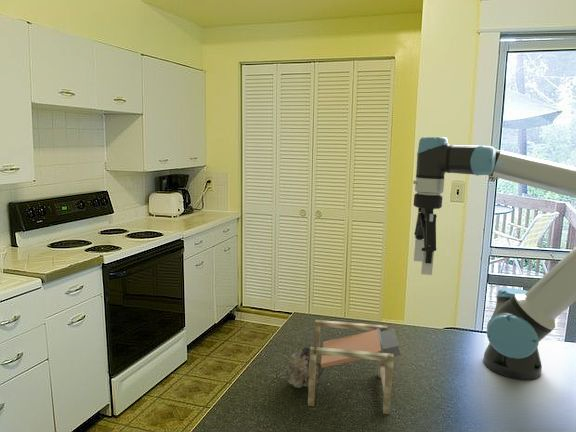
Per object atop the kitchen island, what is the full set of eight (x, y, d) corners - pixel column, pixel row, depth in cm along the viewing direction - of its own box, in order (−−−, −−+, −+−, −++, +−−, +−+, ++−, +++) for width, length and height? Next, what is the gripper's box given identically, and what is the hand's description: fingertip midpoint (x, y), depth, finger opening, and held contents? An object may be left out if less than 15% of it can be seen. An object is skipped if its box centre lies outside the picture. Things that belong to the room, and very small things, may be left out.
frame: (383, 375, 122) (387, 325, 120) (389, 414, 105) (394, 356, 102) (313, 368, 125) (315, 319, 122) (307, 405, 107) (310, 349, 105)
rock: (328, 376, 106) (288, 363, 107) (316, 408, 111) (278, 395, 112) (332, 350, 114) (295, 338, 115) (321, 381, 119) (285, 369, 120)
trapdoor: (395, 333, 118) (392, 324, 118) (402, 359, 104) (399, 348, 104) (326, 349, 121) (323, 340, 121) (323, 375, 108) (320, 365, 107)
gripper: (408, 188, 135) (403, 255, 139) (422, 198, 111) (415, 279, 115) (433, 189, 134) (427, 257, 138) (453, 199, 110) (445, 281, 114)
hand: (422, 267), depth 126 cm, fingers open, 13 cm apart
